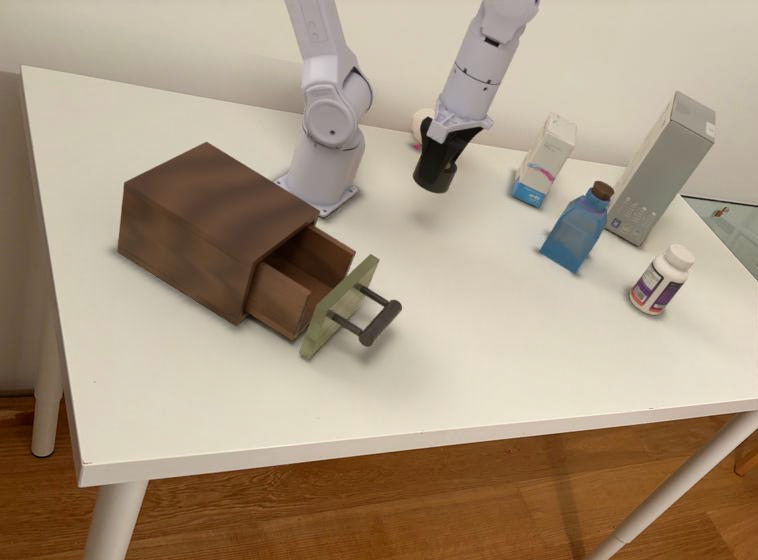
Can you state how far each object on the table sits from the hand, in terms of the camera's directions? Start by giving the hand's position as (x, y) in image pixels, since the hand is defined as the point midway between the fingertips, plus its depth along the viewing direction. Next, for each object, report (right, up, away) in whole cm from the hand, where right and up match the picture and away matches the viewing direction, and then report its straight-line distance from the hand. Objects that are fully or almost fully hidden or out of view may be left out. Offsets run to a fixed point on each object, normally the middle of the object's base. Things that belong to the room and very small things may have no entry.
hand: (434, 172), depth 89 cm
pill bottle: (+31, -15, +17) cm, 38 cm away
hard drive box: (+32, +1, +34) cm, 47 cm away
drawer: (-14, -18, -13) cm, 26 cm away
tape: (0, -1, +1) cm, 1 cm away
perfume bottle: (+19, -8, +18) cm, 27 cm away
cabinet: (-24, -13, -11) cm, 29 cm away
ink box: (+15, +4, +27) cm, 32 cm away
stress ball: (-1, +11, +25) cm, 28 cm away
